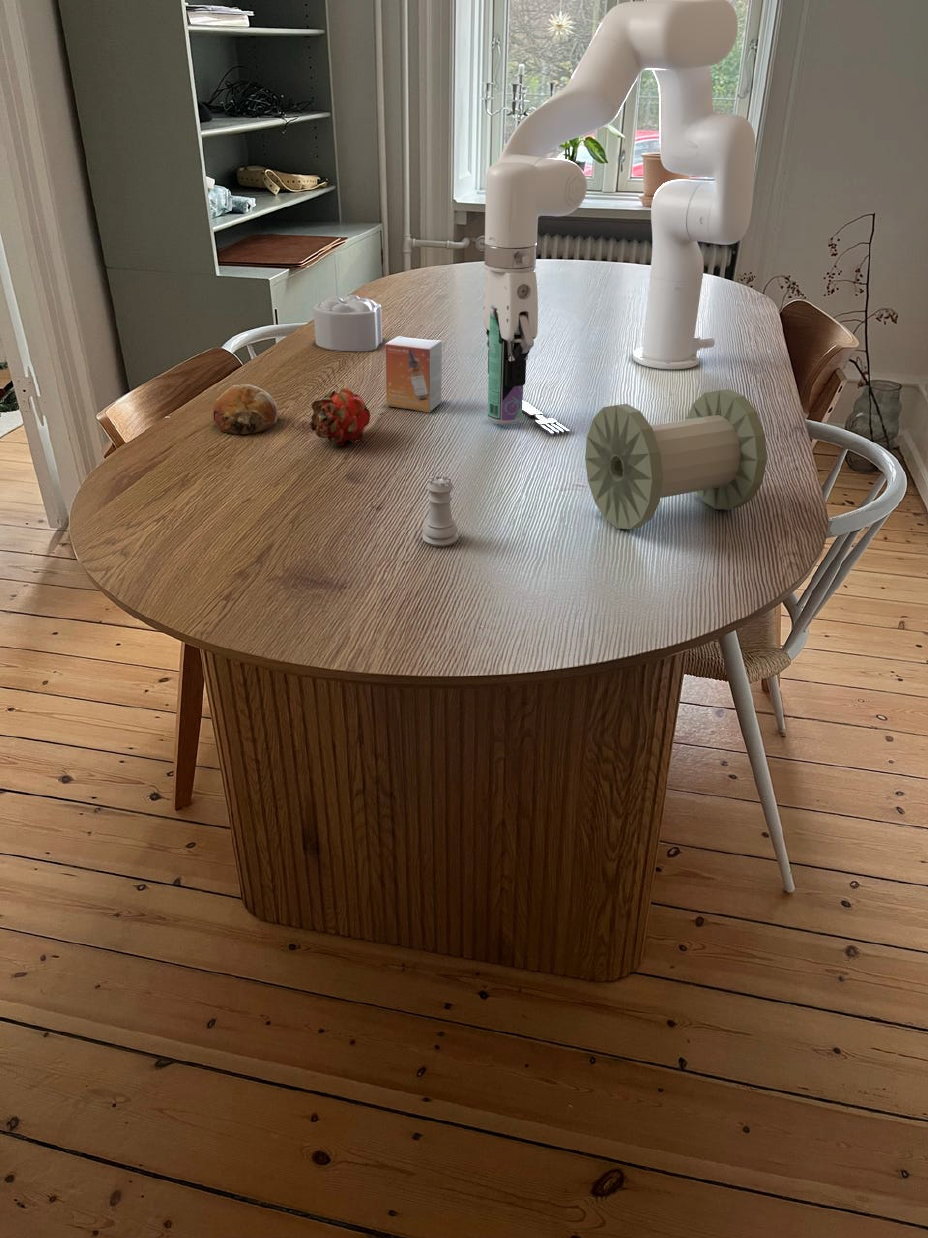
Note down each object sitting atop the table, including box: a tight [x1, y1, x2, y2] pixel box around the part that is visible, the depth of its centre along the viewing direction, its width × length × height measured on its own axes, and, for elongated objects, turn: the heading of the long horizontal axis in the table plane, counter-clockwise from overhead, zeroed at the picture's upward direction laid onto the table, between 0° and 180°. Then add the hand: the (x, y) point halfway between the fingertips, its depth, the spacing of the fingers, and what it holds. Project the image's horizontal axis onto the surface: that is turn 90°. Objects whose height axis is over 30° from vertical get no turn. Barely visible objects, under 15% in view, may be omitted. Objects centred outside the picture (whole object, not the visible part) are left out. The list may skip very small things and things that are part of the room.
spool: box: [584, 388, 768, 530], centre depth 118 cm, size 16×15×15 cm
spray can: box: [487, 306, 524, 426], centre depth 144 cm, size 6×6×20 cm
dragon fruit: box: [309, 387, 371, 447], centre depth 141 cm, size 8×8×12 cm
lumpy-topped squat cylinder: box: [313, 294, 383, 352], centre depth 186 cm, size 10×13×9 cm
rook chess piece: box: [421, 474, 459, 548], centre depth 112 cm, size 4×4×8 cm
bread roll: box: [212, 383, 279, 435], centre depth 147 cm, size 10×10×8 cm
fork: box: [522, 399, 570, 437], centre depth 152 cm, size 17×3×1 cm, turn 24°
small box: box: [384, 335, 443, 413], centre depth 154 cm, size 8×6×10 cm
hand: (506, 378), depth 146 cm, fingers closed on spray can, 5 cm apart
